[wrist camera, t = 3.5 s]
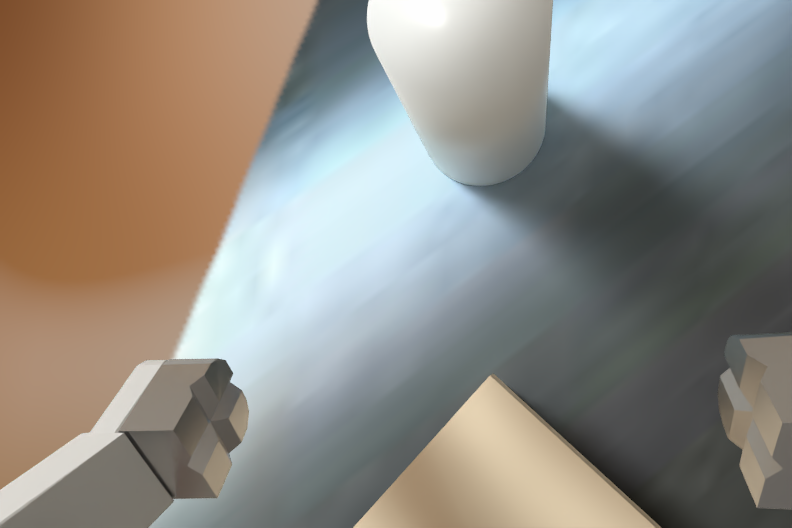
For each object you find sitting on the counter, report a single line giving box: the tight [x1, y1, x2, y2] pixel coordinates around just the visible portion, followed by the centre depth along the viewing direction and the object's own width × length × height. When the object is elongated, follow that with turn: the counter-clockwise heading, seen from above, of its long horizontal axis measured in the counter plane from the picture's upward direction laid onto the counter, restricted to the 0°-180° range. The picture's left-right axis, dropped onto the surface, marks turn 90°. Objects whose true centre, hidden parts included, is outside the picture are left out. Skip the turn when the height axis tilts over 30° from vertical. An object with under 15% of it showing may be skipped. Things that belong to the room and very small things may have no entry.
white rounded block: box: [367, 0, 553, 186], centre depth 19 cm, size 5×5×8 cm
